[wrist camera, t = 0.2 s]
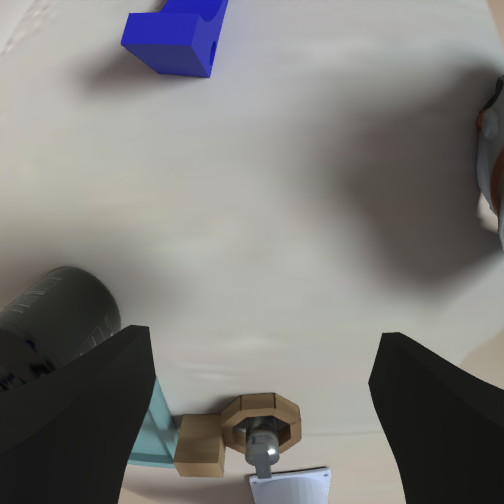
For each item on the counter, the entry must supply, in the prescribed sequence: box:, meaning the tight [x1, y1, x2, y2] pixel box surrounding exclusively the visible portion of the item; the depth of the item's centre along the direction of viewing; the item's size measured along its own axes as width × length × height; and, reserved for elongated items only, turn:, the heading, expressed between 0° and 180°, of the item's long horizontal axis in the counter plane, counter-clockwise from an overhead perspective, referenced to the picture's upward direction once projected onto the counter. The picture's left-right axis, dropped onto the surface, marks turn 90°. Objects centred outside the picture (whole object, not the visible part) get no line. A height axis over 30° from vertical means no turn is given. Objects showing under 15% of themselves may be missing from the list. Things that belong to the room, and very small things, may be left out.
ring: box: [173, 393, 301, 477], centre depth 20 cm, size 9×6×5 cm, turn 96°
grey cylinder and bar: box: [245, 415, 279, 479], centre depth 21 cm, size 4×2×5 cm, turn 6°
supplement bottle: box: [0, 267, 121, 393], centre depth 14 cm, size 7×7×12 cm
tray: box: [127, 376, 179, 468], centre depth 23 cm, size 10×14×2 cm
